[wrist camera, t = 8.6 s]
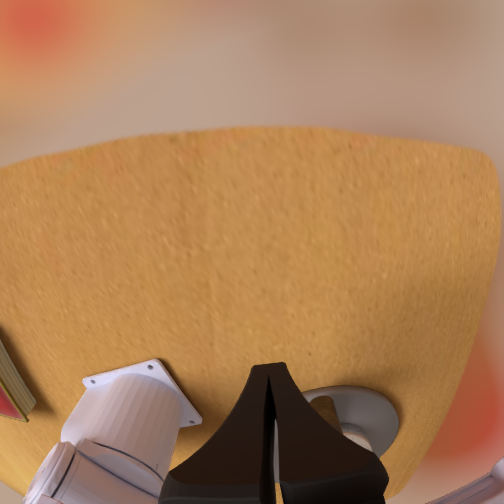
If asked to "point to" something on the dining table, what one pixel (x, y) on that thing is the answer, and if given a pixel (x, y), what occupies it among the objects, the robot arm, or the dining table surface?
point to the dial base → (357, 416)
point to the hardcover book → (13, 390)
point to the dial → (329, 413)
